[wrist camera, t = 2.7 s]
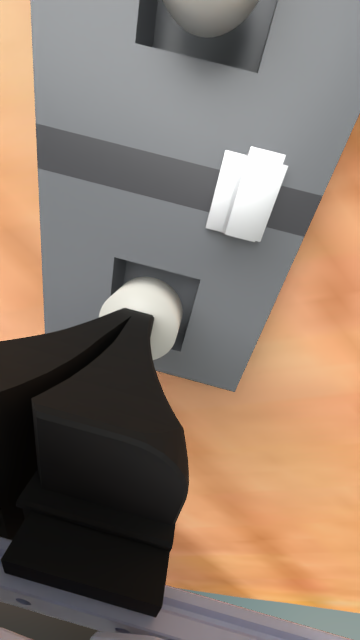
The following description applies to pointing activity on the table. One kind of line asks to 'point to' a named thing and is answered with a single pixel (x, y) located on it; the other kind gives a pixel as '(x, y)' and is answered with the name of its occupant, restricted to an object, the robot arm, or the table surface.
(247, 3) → the button
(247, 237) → the slider tab
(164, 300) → the button
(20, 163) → the table surface
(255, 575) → the table surface
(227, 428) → the table surface
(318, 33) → the switch panel
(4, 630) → the robot arm
